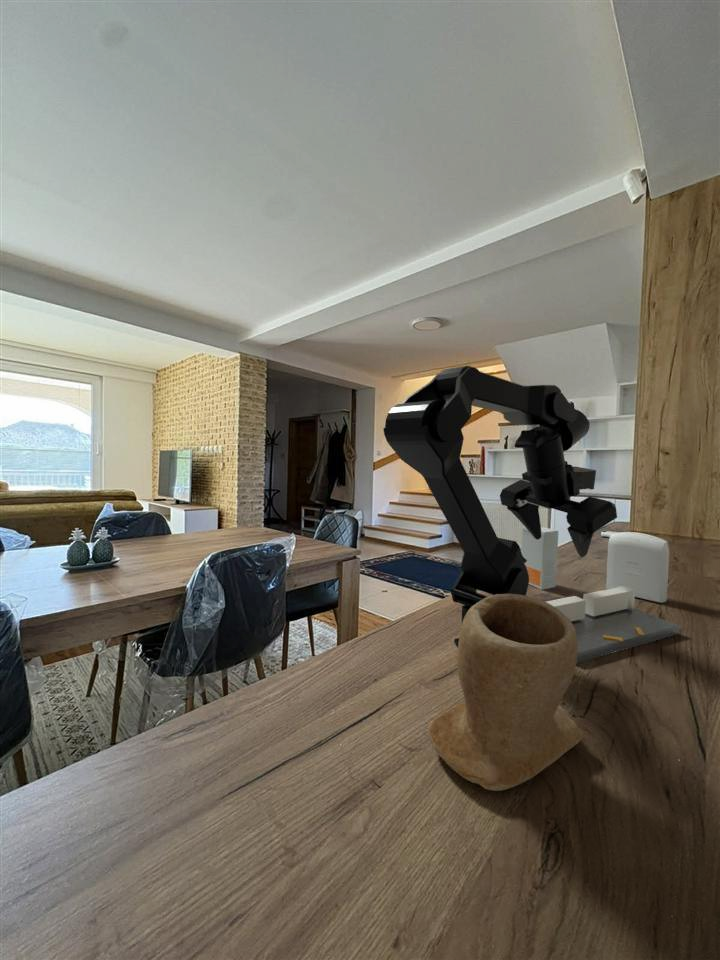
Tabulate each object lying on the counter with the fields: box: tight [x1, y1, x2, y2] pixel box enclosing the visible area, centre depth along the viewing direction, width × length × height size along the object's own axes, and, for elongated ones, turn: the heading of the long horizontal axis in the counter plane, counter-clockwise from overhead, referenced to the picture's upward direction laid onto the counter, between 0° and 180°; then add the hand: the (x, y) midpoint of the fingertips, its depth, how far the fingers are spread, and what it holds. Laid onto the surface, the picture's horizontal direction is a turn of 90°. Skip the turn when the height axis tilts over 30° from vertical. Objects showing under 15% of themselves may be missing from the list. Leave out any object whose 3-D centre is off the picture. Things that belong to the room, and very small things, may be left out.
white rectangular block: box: [545, 595, 586, 621], centre depth 65 cm, size 10×2×3 cm, turn 113°
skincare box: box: [520, 526, 559, 591], centre depth 87 cm, size 6×4×12 cm
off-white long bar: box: [582, 586, 636, 616], centre depth 70 cm, size 10×2×3 cm, turn 113°
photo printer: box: [605, 531, 670, 604], centre depth 82 cm, size 10×4×12 cm, turn 39°
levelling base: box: [571, 607, 680, 665], centre depth 66 cm, size 23×13×3 cm, turn 113°
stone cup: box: [427, 594, 584, 792], centre depth 39 cm, size 15×12×15 cm
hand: (559, 546), depth 72 cm, fingers open, 9 cm apart
